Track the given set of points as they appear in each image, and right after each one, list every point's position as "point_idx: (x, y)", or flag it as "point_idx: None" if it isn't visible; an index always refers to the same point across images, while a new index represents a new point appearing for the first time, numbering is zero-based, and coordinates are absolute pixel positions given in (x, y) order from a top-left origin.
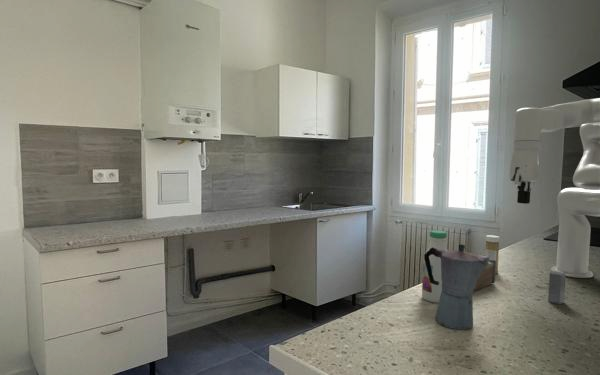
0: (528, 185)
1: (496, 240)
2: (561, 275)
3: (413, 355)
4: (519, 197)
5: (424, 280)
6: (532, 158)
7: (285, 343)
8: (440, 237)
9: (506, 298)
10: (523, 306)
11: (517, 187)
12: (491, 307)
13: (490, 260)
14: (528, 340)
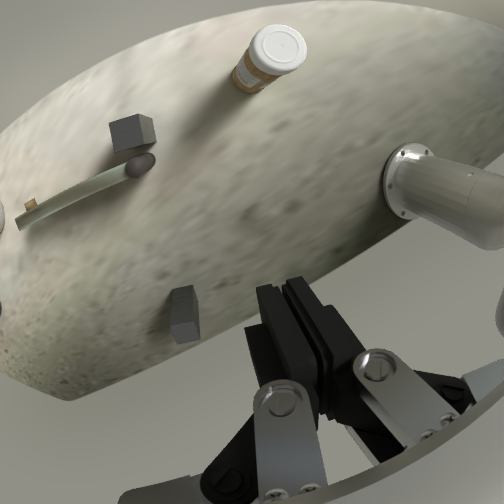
0: (370, 452)
1: (269, 72)
2: (178, 343)
3: None
4: (250, 345)
5: None
6: None
7: None
8: None
9: (103, 250)
10: (104, 291)
11: (254, 430)
12: (49, 276)
13: (126, 168)
14: (41, 359)
